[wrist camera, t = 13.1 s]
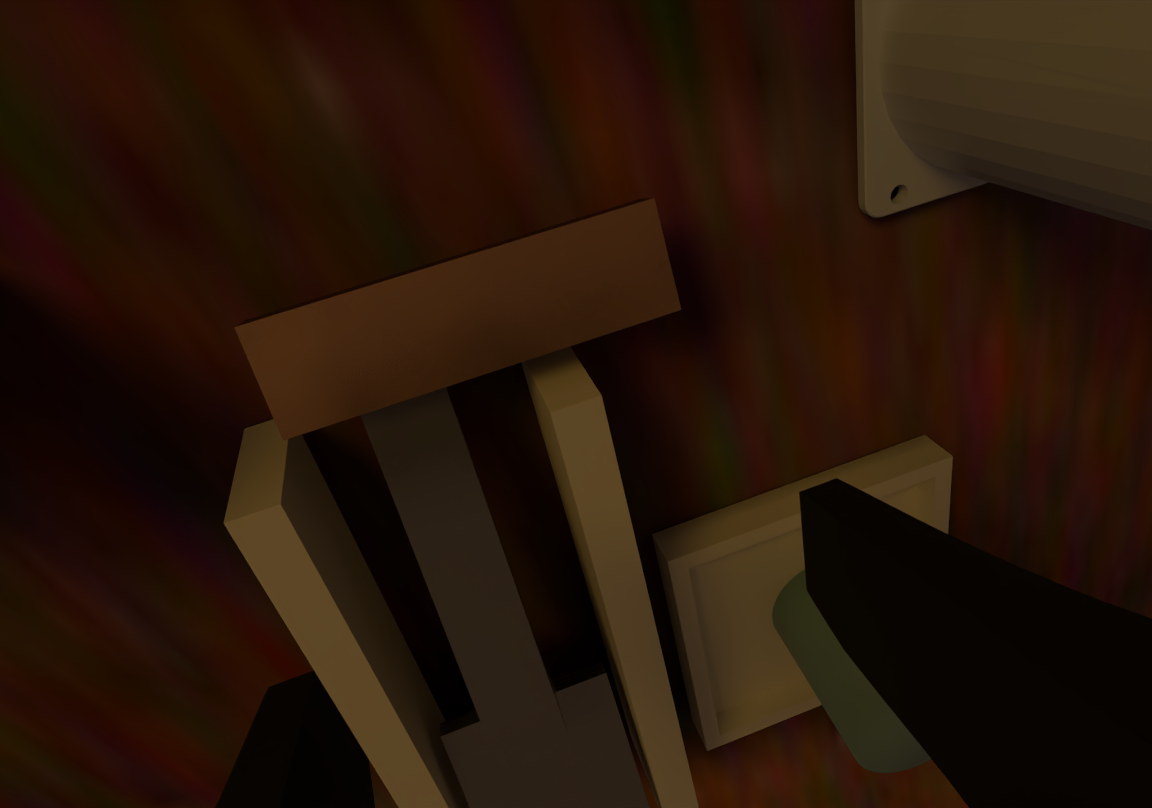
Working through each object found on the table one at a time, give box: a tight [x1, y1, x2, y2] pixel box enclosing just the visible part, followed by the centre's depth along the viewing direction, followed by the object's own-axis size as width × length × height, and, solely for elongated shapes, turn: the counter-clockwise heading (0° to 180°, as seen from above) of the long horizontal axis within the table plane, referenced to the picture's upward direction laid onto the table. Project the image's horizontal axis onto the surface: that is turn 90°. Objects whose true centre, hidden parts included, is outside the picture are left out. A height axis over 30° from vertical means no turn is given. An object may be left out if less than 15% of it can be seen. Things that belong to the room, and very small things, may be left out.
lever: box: [234, 198, 681, 808], centre depth 20 cm, size 9×19×4 cm, turn 14°
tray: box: [652, 435, 953, 751], centre depth 27 cm, size 10×10×1 cm
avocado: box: [772, 570, 931, 773], centre depth 25 cm, size 4×4×6 cm
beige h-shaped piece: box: [224, 346, 699, 808], centre depth 22 cm, size 8×18×4 cm, turn 14°
